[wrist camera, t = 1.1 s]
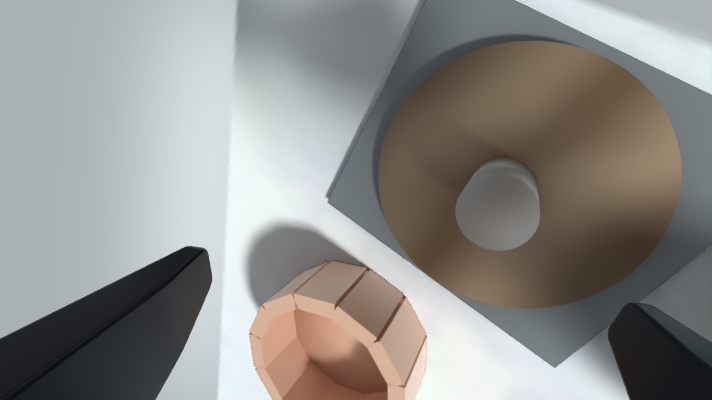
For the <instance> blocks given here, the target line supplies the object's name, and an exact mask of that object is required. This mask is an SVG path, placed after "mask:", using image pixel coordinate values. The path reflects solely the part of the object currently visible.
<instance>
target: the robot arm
mask: <svg viewBox="0 0 712 400" xmlns="http://www.w3.org/2000/svg"><path fill="white" fill-rule="evenodd" d="M211 283H212V272H211V267H210V261H209V255H208V252H207V250H206V249H205V248H201V247H193V246H187V247H184V248H182V249H180V250H178V251H176V252H174V253H172V254H170V255H168V256H166V257H164V258H162V259H160V260H158V261H155V262H153V263H152V264H149V265H147V266H146V267H144V268H141V269H139V270H137V271H135V272H133V273H132V274H129V275H127V276H126V277H123V278H121V279H119V280H117V281H115V282H114V283H112V284H109V285H107V286H105V287H103V288H101V289H100V290H97V291H95V292H93V293H91V294H89V295H87V296H85V297H83V298H81V299H79V300H77V301H75V302H73V303H71V304H69V305H67V306H65V307H63V308H61V309H59V310H57V311H55V312H53V313H51V314H49V315H47V316H45V317H43V318H41V319H39V320H37V321H35V322H33V323H31V324H29V325H27V326H25V327H23V328H21V329H19V330H17V331H15V332H13V333H11V334H9V335H7V336H5V337H3V338H0V400H155V399H156V398H157V396H158V394H159V393H160V391H161V389H162V387H163V385H164V383H165V382H166V380H167V378H168V376H169V375H170V373H171V371H172V369H173V368H174V366H175V364H176V362H177V360H178V358H179V357H180V355H181V352H182V351H183V349H184V347H185V344H186V342H187V340H188V338H189V335H190V333H191V331H192V329H193V326H194V324H195V321H196V319H197V317H198V315H199V312H200V310H201V308H202V305H203V303H204V300H205V298H206V296H207V294H208V291H209V289H210V286H211ZM608 339H609V343H610V345H611V348H612V351H613V354H614V357H615V359H616V362H617V365H618V368H619V371H620V374H621V376H622V379H623V382H624V385H625V388H626V390H627V393H628V396H629V399H630V400H712V343H711V342H710V341H708V340H707V339H705V338H703V337H702V336H700V335H699V334H697V333H695V332H694V331H692V330H691V329H689V328H687V327H686V326H684V325H683V324H681V323H679V322H678V321H676V320H675V319H673V318H671V317H670V316H668V315H667V314H665V313H663V312H662V311H660V310H659V309H657V308H656V307H654V306H651V305H648V304H641V303H633V302H631V303H627V304H625V305H624V306H623V307H622V309H621V310H620V312H619V313H618V315H617V316H616V318H615V319H614V321H613V323H612V324H611V326H610V327H609V330H608Z"/></svg>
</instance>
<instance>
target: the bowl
mask: <svg viewBox="0 0 712 400" xmlns="http://www.w3.org/2000/svg"><path fill="white" fill-rule="evenodd" d="M403 295H404V294H402V293H401V292H400V291H398V290H397V289H396V288H394V287H393V286H392V285H391V284H389V283H388V282H387V281H385V280H384V279H383V278H381V277H380V276H379V275H377V274H376V273H375V272H373V271H372V270H371V269H370V270H369V271H368V270H367V268H366V267H361V266H356V265H351V264H346V263H341V262H336V261H331V262H330V261H328V262H325V263H323V264H320V265H318V266H316V267H313V268H311V269H308V270H306V271H304V272H302V273H301V274H300V275H298V276H297V277H296V278H295V279H293V280H292V281H291V282H290V283H288V284H287V285H286V286H285V287H283V288H282V289H281V290H280V291H278V292H277V293H276V294H275V295H274V296H272V297H271V298H270V299H269V300H267V301H266V302H265V303H264V304H263V305H261V307H260V309H259V311H258V313H257V315H256V318H255V320H254V322H253V324H252V326H251V329H250V332H251V333H249V337H250V344H251V350H252V357H253V363H254V366H255V367H257V368H256V369H255V370H256V372H257V374H258V375H259V377H260V379H261V381H262V382H263V384H264V386H265V388H266V389H267V391H268V393H269V395H270V396H271V398H272V400H415V398H416V395H417V392H418V390H419V387H420V384H421V382H422V379H423V376H424V374H425V371H426V348H427V337H426V336H425V335H426V332H425V331H424V329H423V327H422V325H421V323H420V322H419V320H418V318H417V316H416V314H415V312H414V311H413V309H412V307H411V305H410V303H409V301H408V300H407V298H404V297H403Z"/></svg>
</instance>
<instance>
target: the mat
mask: <svg viewBox="0 0 712 400" xmlns="http://www.w3.org/2000/svg"><path fill="white" fill-rule="evenodd" d="M515 41H547V42H557V43H564V44H568V45H572V46H576V47H580V48H584V49H586V50H589V51H591V52H594V53H596V54H599V55H601V56H604V57H606V58H608V59H609V60H611V61H613V62H615V63H616V64H618V65H620V66H621V67H623V68H625V69H626V70H627V71H629V72H630V73H631V74H632V75H633V76H635V77H636V78H637V79H638V80H640V81H641V82H642V83H643V84H644V85H645V86H646V87H647V88H648V90H649V91H650V92H651V93H652V94H653V95H654V96H655V98H656V99H657V100H658V101H659V103H660V105H661V106H662V108H663V110H664V111H665V113H666V114H667V116H668V118H669V120H670V122H671V125H672V127H673V130H674V132H675V135H676V137H677V141H678V146H679V151H680V156H681V174H682V182H681V188H680V194H679V200H678V204H677V207H676V210H675V213H674V215H673V218H672V221H671V223H670V225H669V227H668V229H667V231H666V232H665V234H664V236H663V238H662V240H661V241H660V242H659V244H658V245H657V246H656V248H655V249H654V250H653V252H652V253H651V254H650V255H649V257H648V258H647V259H646V260H645V261H644V262H642V263H641V264H640V265H639V266H638V267H637V268H636V269H635V270H634V271H633V272H632V273H630V274H629V275H627V276H626V277H625V278H623V279H622V280H621V281H619V282H618V283H616V284H614V285H613V286H611V287H609V288H607V289H605V290H604V291H602V292H600V293H597V294H595V295H592V296H590V297H587V298H585V299H583V300H579V301H575V302H572V303H568V304H564V305H559V306H552V307H546V308H527V309H526V308H509V307H503V306H496V305H491V304H487V303H483V302H480V301H476V300H473V299H471V298H468V297H465V296H463V295H460V294H458V293H456V292H454V291H452V290H450V289H448V288H446V287H445V286H443V285H442V284H440V283H439V284H440V285H441V286H443V287H444V288H446V289H447V290H448V291H450V292H451V293H452V294H454V295H455V296H457V297H458V298H459V299H461V300H462V301H463V302H465V303H466V304H468V305H469V306H470V307H472V308H473V309H474V310H476V311H477V312H479V313H480V314H481V315H483V316H484V317H485V318H487V319H488V320H490V321H491V322H492V323H494V324H495V325H496V326H498V327H499V328H501V329H502V330H503V331H505V332H506V333H507V334H509V335H510V336H512V337H513V338H514V339H516V340H517V341H518V342H520V343H521V344H522V345H524V346H525V347H527V348H528V349H529V350H531V351H532V352H533V353H535V354H536V355H538V356H539V357H540V358H542V359H543V360H544V361H546V362H547V363H549V364H550V365H551V366H553V367H554V368H555V367H557V366H558V365H559V364H560V363H562V362H563V361H564V360H565V359H567V358H568V357H569V356H571V355H572V354H573V353H574V352H576V351H577V350H578V349H579V348H581V347H582V346H583V345H584V344H586V343H587V342H588V341H590V340H591V339H592V338H593V337H595V336H596V335H597V334H598V333H600V332H601V331H602V330H603V329H605V328H606V327H607V326H609V325H610V324H611V323H612V322H613V321H614V319H615V318H616V316H617V315H618V313H619V312H620V310H621V309H622V307H623V306H624V305H625V304H627V303H631V302H633V303H638V302H639V301H640V300H642V299H643V298H644V297H645V296H647V295H648V294H649V293H650V292H652V291H653V290H654V289H656V288H657V287H658V286H659V285H661V284H662V283H663V282H664V281H666V280H667V279H668V278H669V277H671V276H672V275H673V274H675V273H676V272H677V271H678V270H680V269H681V268H682V267H683V266H685V265H686V264H687V263H688V262H690V261H691V260H692V259H694V258H695V257H696V256H697V255H699V254H700V253H701V252H702V251H704V250H705V249H706V248H708V247H709V246H710V245H711V244H712V95H711V94H709V93H707V92H705V91H702V90H700V89H698V88H696V87H694V86H692V85H690V84H688V83H686V82H684V81H682V80H680V79H677V78H675V77H673V76H671V75H669V74H667V73H665V72H663V71H661V70H659V69H657V68H655V67H653V66H650V65H648V64H646V63H644V62H642V61H640V60H638V59H636V58H634V57H632V56H630V55H628V54H625V53H623V52H621V51H619V50H617V49H615V48H613V47H611V46H609V45H607V44H605V43H603V42H600V41H598V40H596V39H594V38H592V37H590V36H588V35H586V34H584V33H582V32H580V31H578V30H576V29H573V28H571V27H569V26H567V25H565V24H563V23H561V22H559V21H557V20H555V19H553V18H551V17H548V16H546V15H544V14H542V13H540V12H538V11H536V10H534V9H532V8H530V7H528V6H526V5H524V4H521V3H519V2H517V1H515V0H426V2H425V4H424V6H423V8H422V10H421V12H420V14H419V16H418V18H417V20H416V22H415V25H414V27H413V29H412V31H411V33H410V35H409V37H408V39H407V41H406V43H405V45H404V47H403V49H402V51H401V53H400V55H399V57H398V59H397V61H396V63H395V65H394V67H393V69H392V71H391V73H390V75H389V78H388V80H387V82H386V84H385V86H384V88H383V90H382V92H381V94H380V96H379V98H378V100H377V102H376V104H375V106H374V108H373V110H372V112H371V114H370V116H369V118H368V120H367V122H366V124H365V126H364V128H363V131H362V133H361V135H360V137H359V139H358V141H357V143H356V145H355V147H354V149H353V151H352V153H351V155H350V157H349V159H348V161H347V163H346V165H345V167H344V169H343V171H342V173H341V175H340V177H339V179H338V182H337V184H336V186H335V188H334V190H333V192H332V194H331V196H330V198H329V200H328V203H329V204H330V205H332V206H333V207H334V208H336V209H337V210H339V211H340V212H341V213H343V214H344V215H345V216H347V217H348V218H350V219H351V220H352V221H354V222H355V223H356V224H358V225H359V226H361V227H362V228H363V229H365V230H366V231H367V232H369V233H370V234H371V235H373V236H374V237H376V238H377V239H378V240H380V241H381V242H382V243H384V244H385V245H387V246H388V247H389V248H391V249H392V250H393V251H395V252H396V253H398V254H399V255H400V256H402V257H403V258H404V259H406V260H407V261H409V262H410V263H411V264H413V265H414V266H415V267H417V268H418V269H420V268H419V267H418V266H417V265H416V264H415V263H414V262H413V261H412V260H411V259H410V258H409V257H408V255H407V254H406V253H405V252H404V250H403V249H402V248H401V246H400V245H399V243H398V242H397V240H396V238H395V237H394V235H393V233H392V231H391V229H390V227H389V225H388V223H387V221H386V218H385V215H384V212H383V208H382V204H381V199H380V195H379V184H378V170H379V160H380V154H381V148H382V145H383V142H384V139H385V135H386V133H387V131H388V128H389V126H390V124H391V122H392V119H393V118H394V116H395V115H396V113H397V111H398V110H399V108H400V106H401V105H402V104H403V102H404V101H405V100H406V99H407V97H408V96H409V95H410V94H411V92H412V91H413V90H414V89H415V88H416V87H417V86H418V85H420V84H421V83H422V82H423V81H424V80H425V79H426V78H427V77H429V76H430V75H431V74H433V73H434V72H435V71H436V70H438V69H439V68H441V67H442V66H444V65H446V64H448V63H449V62H451V61H453V60H454V59H456V58H458V57H461V56H463V55H465V54H468V53H470V52H472V51H475V50H478V49H482V48H485V47H489V46H492V45H496V44H502V43H509V42H515ZM420 270H421V269H420ZM421 271H422V270H421ZM422 272H424V271H422ZM424 273H425V272H424ZM425 274H426V273H425ZM426 275H427V274H426ZM428 276H429V275H428ZM429 277H430V276H429ZM433 280H434V279H433ZM436 282H437V281H436ZM437 283H438V282H437Z"/></svg>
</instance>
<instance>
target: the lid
mask: <svg viewBox="0 0 712 400" xmlns="http://www.w3.org/2000/svg"><path fill="white" fill-rule="evenodd" d="M681 182H682V174H681V156H680V151H679V146H678V141H677V137H676V135H675V132H674V130H673V127H672V125H671V122H670V120H669V118H668V116H667V114H666V113H665V111H664V110H663V108H662V106H661V105H660V103H659V101H658V100H657V99H656V98H655V96H654V95H653V94H652V93H651V92H650V91H649V90H648V88H647V87H646V86H645V85H644V84H643V83H642V82H641V81H640V80H638V79H637V78H636V77H635V76H633V75H632V74H631V73H630V72H629V71H627V70H626V69H625V68H623V67H621V66H620V65H618V64H616V63H615V62H613V61H611V60H609V59H608V58H606V57H604V56H601V55H599V54H596V53H594V52H591V51H589V50H586V49H584V48H580V47H576V46H572V45H568V44H564V43H557V42H547V41H515V42H509V43H502V44H496V45H492V46H489V47H485V48H482V49H478V50H475V51H472V52H470V53H468V54H465V55H463V56H461V57H458V58H456V59H454V60H453V61H451V62H449V63H448V64H446V65H444V66H442V67H441V68H439V69H438V70H436V71H435V72H434V73H433V74H431V75H430V76H429V77H427V78H426V79H425V80H424V81H423V82H422V83H421V84H420V85H418V86H417V87H416V88H415V89H414V90H413V91H412V92H411V94H410V95H409V96H408V97H407V99H406V100H405V101H404V102H403V104H402V105H401V106H400V108H399V110H398V111H397V113H396V115H395V116H394V118H393V119H392V122H391V124H390V126H389V128H388V131H387V133H386V135H385V139H384V142H383V145H382V148H381V154H380V160H379V170H378V184H379V195H380V199H381V204H382V208H383V212H384V215H385V218H386V221H387V223H388V225H389V227H390V229H391V231H392V233H393V235H394V237H395V238H396V240H397V242H398V243H399V245H400V246H401V248H402V249H403V250H404V252H405V253H406V254H407V255H408V257H409V258H410V259H411V260H412V261H413V262H414V263H415V264H416V265H417V266H418V267H419V268H420V269H421V270H422V271H424V272H425V273H426V274H427V275H429V276H430V277H431V278H432V279H434V280H435V281H437V282H438V283H440V284H442V285H443V286H445V287H446V288H448V289H450V290H452V291H454V292H456V293H458V294H460V295H463V296H465V297H468V298H471V299H473V300H476V301H480V302H483V303H487V304H491V305H496V306H503V307H509V308H526V309H527V308H546V307H552V306H559V305H564V304H568V303H572V302H575V301H579V300H583V299H585V298H587V297H590V296H592V295H595V294H597V293H600V292H602V291H604V290H605V289H607V288H609V287H611V286H613V285H614V284H616V283H618V282H619V281H621V280H622V279H623V278H625V277H626V276H627V275H629V274H630V273H632V272H633V271H634V270H635V269H636V268H637V267H638V266H639V265H640V264H641V263H642V262H644V261H645V260H646V259H647V258H648V257H649V255H650V254H651V253H652V252H653V250H654V249H655V248H656V246H657V245H658V244H659V242H660V241H661V240H662V238H663V236H664V234H665V232H666V231H667V229H668V227H669V225H670V223H671V221H672V218H673V215H674V213H675V210H676V207H677V204H678V200H679V194H680V188H681Z"/></svg>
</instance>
